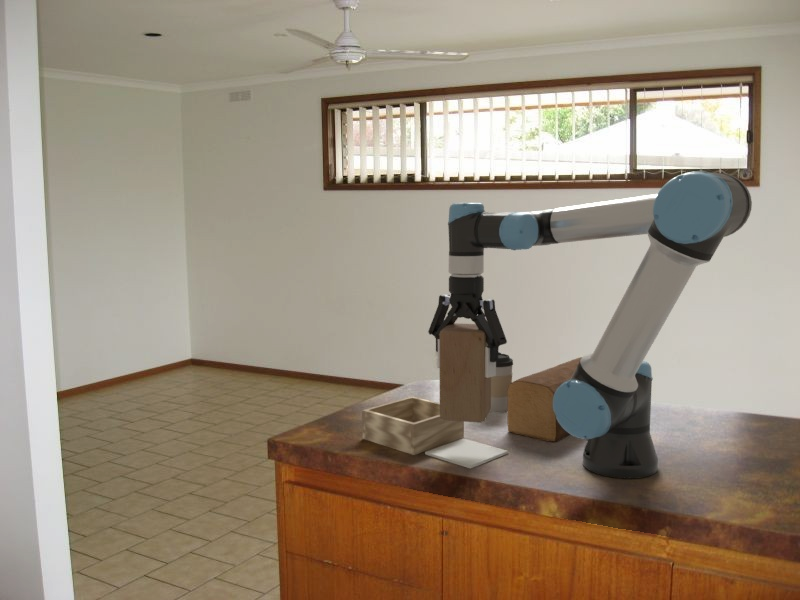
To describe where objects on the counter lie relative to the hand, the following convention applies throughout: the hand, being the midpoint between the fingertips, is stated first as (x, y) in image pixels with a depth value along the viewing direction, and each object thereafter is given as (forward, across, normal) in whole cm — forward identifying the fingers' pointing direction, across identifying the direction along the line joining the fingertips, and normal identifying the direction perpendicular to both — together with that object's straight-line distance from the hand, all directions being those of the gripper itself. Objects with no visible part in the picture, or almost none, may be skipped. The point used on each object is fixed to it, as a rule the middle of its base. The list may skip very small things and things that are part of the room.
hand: (466, 371), depth 166 cm
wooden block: (+10, 0, 0) cm, 10 cm away
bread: (+19, -2, -36) cm, 41 cm away
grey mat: (+19, 0, 0) cm, 19 cm away
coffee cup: (+19, +17, -33) cm, 42 cm away
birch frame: (+19, +16, 0) cm, 25 cm away
